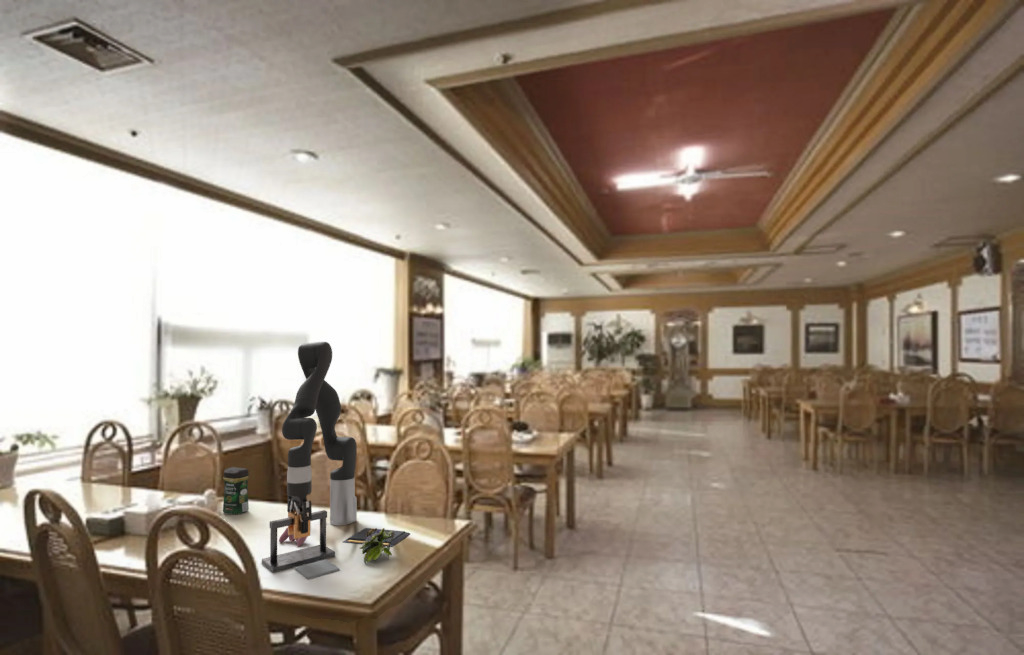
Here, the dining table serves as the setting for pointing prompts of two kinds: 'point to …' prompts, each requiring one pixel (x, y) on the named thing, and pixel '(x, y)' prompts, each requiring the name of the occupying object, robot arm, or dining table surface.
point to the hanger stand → (298, 556)
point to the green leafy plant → (376, 544)
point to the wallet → (361, 535)
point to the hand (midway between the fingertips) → (299, 529)
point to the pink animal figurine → (291, 538)
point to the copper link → (297, 526)
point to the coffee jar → (235, 490)
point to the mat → (317, 569)
